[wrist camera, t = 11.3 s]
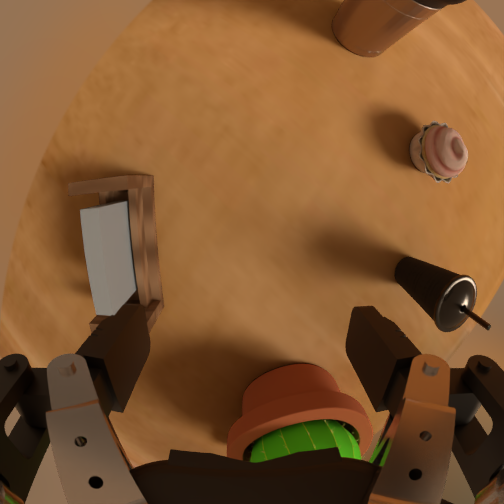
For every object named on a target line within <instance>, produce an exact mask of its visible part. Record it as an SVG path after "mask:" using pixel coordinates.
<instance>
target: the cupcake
mask: <svg viewBox="0 0 504 504" xmlns="http://www.w3.org/2000/svg"><path fill="white" fill-rule="evenodd" d="M410 156H411V159H412V162H413V163H414V165H415V166H416V167H417V169H418V170H420V171H421V172H423V173H426V174H428V175H429V176H431V177H432V178H433V179H434V180H435V181H436V182H437V183H439V182H440V181H442V180H443V181H444V182H446V183H449V182H450V181H451V179H452V177H454V178H456V177H458V174H459V173H460V172H462V170H463V169H464V167H465V165H466V163H467V159H468V151H467V148H466V146H465V145H464V142H463V140H462V138H461V136H460V134H459V133H458V132H457V131H456V130H454V129H452V128H448V126H447V124H446V123H442V124H439V123H438V122H437V121H432V122H431V124H430V125H423V128H422V130H421V132H419V133H418V134H416V135H415V136H414V137H413V139H412V140H411V143H410Z"/></svg>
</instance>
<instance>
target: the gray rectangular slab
mask: <svg viewBox="0 0 504 504" xmlns="http://www.w3.org/2000/svg"><path fill="white" fill-rule="evenodd" d="M80 215H81V226H82V235H83V243H84V251H85V258H86V264H87V270H88V276H89V282H90V287H91V292H92V297H93V302H94V306H95V310H96V315H107V316H111V315H115V314H116V313H117V311H118V310H119V309H120V308H121V306H122V305H123V304H125V302H126V301H127V300H128V299H129V298H130V297H131V295H132V294H133V293H134V292H135V291H136V290H137V289H138V287H137V280H136V273H135V265H134V257H133V248H132V238H131V227H130V214H129V200H124V201H115V202H111V203H106V204H102V205H97V206H93V207H89V208H85V209H80Z"/></svg>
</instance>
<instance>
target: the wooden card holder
mask: <svg viewBox="0 0 504 504" xmlns="http://www.w3.org/2000/svg"><path fill="white" fill-rule="evenodd" d="M98 192H99V202H100V205H102V204H106V203H111V202H115V201H124V200H129V214H130V227H131V238H132V248H133V257H134V265H135V273H136V280H137V287H138V289H137V290H136V291H135V292H134V293H133V294H132V295H131V297H130V298H129V299H128V300H127V301H126V302H125V304H137V305H143V306H144V308H145V313H146V319H147V325H148V331H149V333H150V331H151V329H152V327H153V325H154V324H155V322H156V320H157V318H158V316H159V315H160V313H161V311H162V309H163V308H164V302H163V294H162V286H161V278H160V269H159V259H158V248H157V236H156V222H155V205H154V180H153V176H146V175H126V176H117V177H109V178H101V179H93V180H86V181H80V182H73V183H68V193H69V196H74V195H82V194H90V193H98ZM107 317H109V316H107V315H97V316H96V317H95V318H94V319H93V320H92V321H91V322H90V323H89V325H90V329H91V332H93V331H94V330H96V327H97V326H98V325H99V324H100V323H101V321H102V320H104V319H106V318H107Z"/></svg>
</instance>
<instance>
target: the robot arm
mask: <svg viewBox="0 0 504 504" xmlns="http://www.w3.org/2000/svg"><path fill="white" fill-rule="evenodd" d="M464 1H466V0H344V1H343V3H342V4H341V6H340V7H339V9H338V13H337V14H336V16H335V17H334V19H333V21H332V30H333V32H334V35H335V36H336V38H337V40H338V41H339V42H340V43H341V44H342V45H343V46H344V47H345V48H347V49H348V50H350V51H351V52H353V53H355V54H358V55H361V56H365V57H375V56H378V55H380V54H381V53H383V52H384V51H385V50H386V49H388V48H389V47H390V46H392V45H393V44H394V43H395V42H397V41H398V40H399V39H401V38H402V37H403V36H405V35H406V34H407V33H409V32H410V31H411V30H413V29H414V28H415V27H417V26H418V25H419V24H421V23H422V22H424V21H425V20H426V19H428V18H429V17H430V16H432V15H433V14H435V13H436V12H438V11H439V10H441V9H442V8H444V7H445V6H447V5H450V4H459V3H461V2H464ZM149 352H150V337H149V331H148V325H147V319H146V313H145V308H144V306H143V305H137V304H123V305H122V306H121V308H120V309H119V310H118V311H117V313H116V314H115V315H111V316H109V317H107V318H106V319H104V320H102V321H101V323H100V324H99V325H98V326H97V327H96V330H94V331H93V332H92V333H91V336H89V337H88V338H87V340H86V341H85V342H84V343H83V344H82V346H81V347H80V348H79V349H78V351H77V352H76V353H75V354H64V355H61V356H58V357H56V358H55V359H53V360H52V361H51V362H50V363H49V365H48V367H47V368H31V366H30V364H29V361H28V359H27V357H25V356H24V355H22V354H11V355H8V356H6V357H4V358H2V359H1V360H0V504H25V501H26V498H27V496H28V493H29V491H30V488H31V486H32V483H33V480H34V478H35V476H36V473H37V471H38V468H39V466H40V464H41V461H42V459H43V457H44V455H45V453H46V450H47V448H48V446H49V444H50V442H51V447H52V451H53V455H54V459H55V463H56V467H57V470H58V474H59V478H60V481H61V484H62V487H63V490H64V493H65V496H66V499H67V502H68V504H453V503H451V502H448V501H446V500H443V499H442V495H443V491H444V487H445V483H446V478H447V474H448V468H449V463H450V457H451V451H452V452H453V453H454V455H455V457H456V459H457V461H458V463H459V465H460V467H461V469H462V471H463V474H464V475H465V478H466V480H467V482H468V484H469V486H470V488H471V490H472V493H473V495H474V497H475V503H474V504H504V371H503V370H502V369H501V368H500V367H499V366H498V365H497V363H495V362H494V361H493V360H492V359H490V358H488V357H486V356H482V355H474V356H472V357H470V358H469V360H468V362H467V364H466V366H465V368H450V367H449V365H448V364H447V362H446V361H444V360H443V359H442V358H440V357H438V356H435V355H431V354H421V352H420V351H419V350H418V349H417V348H416V347H415V345H414V344H413V343H412V342H411V341H410V340H409V339H408V337H406V335H405V334H404V333H403V332H402V331H401V329H400V328H399V327H398V326H397V325H396V324H395V323H394V322H392V321H391V320H389V319H387V318H386V317H383V316H382V315H381V314H380V313H379V312H378V311H377V310H376V308H375V307H374V306H359V307H354V308H353V310H352V313H351V319H350V324H349V329H348V333H347V338H346V353H347V356H348V358H349V360H350V362H351V364H352V366H353V368H354V370H355V372H356V373H357V375H358V377H359V379H360V381H361V383H362V385H363V387H364V389H365V391H366V393H367V395H368V397H369V399H370V401H371V403H372V405H373V407H374V409H375V411H376V412H380V411H384V410H389V412H390V414H389V416H388V418H387V420H386V423H385V425H384V428H383V431H382V433H381V436H380V438H379V441H378V443H377V445H376V448H375V450H374V452H373V455H372V457H371V459H370V461H369V462H367V461H364V460H360V459H355V458H348V457H341V455H340V452H339V449H338V447H333V448H326V449H319V450H311V451H301V452H296V453H293V454H289V455H286V456H282V457H278V458H275V459H271V460H267V461H262V462H255V463H254V462H248V461H243V460H238V459H233V458H229V457H224V456H220V455H216V454H212V453H200V452H189V451H180V450H170V454H169V459H168V460H162V461H156V462H151V463H147V464H144V465H141V466H138V467H136V468H133V466H132V464H131V463H130V461H129V459H128V457H127V455H126V453H125V451H124V449H123V447H122V445H121V443H120V441H119V439H118V437H117V434H116V432H115V430H114V428H113V425H112V423H111V421H110V419H109V417H108V416H109V414H110V412H111V410H112V411H116V412H121V413H123V412H124V409H125V407H126V405H127V402H128V400H129V398H130V395H131V393H132V391H133V388H134V386H135V384H136V382H137V379H138V377H139V375H140V373H141V371H142V368H143V366H144V364H145V362H146V360H147V357H148V355H149ZM481 404H482V406H483V407H484V408H485V410H486V411H487V412H488V414H489V415H490V417H491V418H492V421H493V428H492V431H491V432H490V434H489V435H487V434H486V432H485V431H484V429H483V428H482V426H481V424H480V423H479V422H478V420H477V418H476V417H475V414H476V412H477V411H478V409H479V408H480V406H481ZM14 407H16V409H17V410H18V412H19V413H20V415H21V416H20V418H19V420H18V421H17V423H16V425H15V426H14V428H13V430H12V431H11V433H10V435H9V437H7V435H6V433H5V428H4V425H5V421H6V419H7V417H8V416H9V415H10V413H11V412H12V410H13V408H14Z"/></svg>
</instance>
